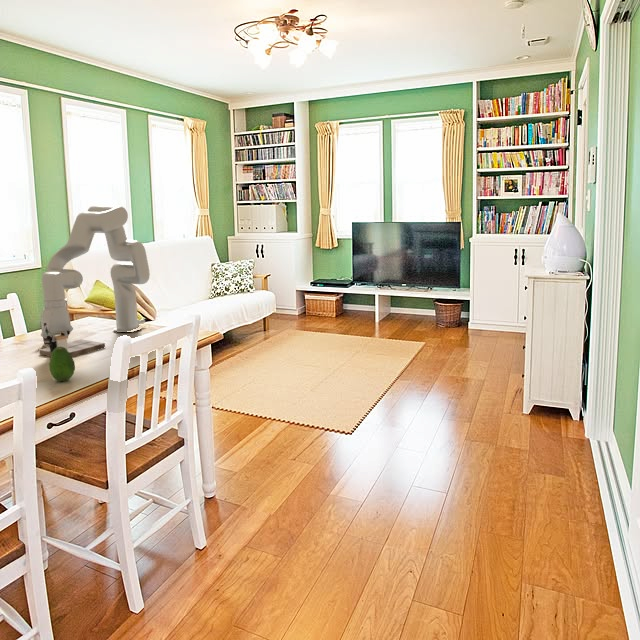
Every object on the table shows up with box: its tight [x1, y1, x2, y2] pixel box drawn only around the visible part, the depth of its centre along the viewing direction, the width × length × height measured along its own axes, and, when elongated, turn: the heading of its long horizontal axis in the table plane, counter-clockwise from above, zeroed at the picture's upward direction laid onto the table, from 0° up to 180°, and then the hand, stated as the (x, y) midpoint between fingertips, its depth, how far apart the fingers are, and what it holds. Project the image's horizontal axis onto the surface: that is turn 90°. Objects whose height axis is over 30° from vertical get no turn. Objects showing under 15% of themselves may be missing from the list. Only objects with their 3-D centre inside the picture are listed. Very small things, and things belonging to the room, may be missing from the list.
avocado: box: [49, 347, 76, 382], centre depth 196 cm, size 8×8×12 cm
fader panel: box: [38, 339, 106, 358], centre depth 235 cm, size 20×14×2 cm
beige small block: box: [51, 335, 68, 349], centre depth 228 cm, size 4×5×5 cm
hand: (58, 349), depth 229 cm, fingers closed on beige small block, 4 cm apart
